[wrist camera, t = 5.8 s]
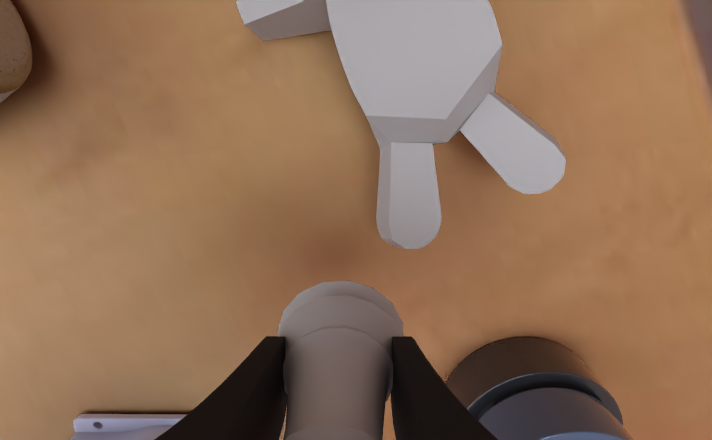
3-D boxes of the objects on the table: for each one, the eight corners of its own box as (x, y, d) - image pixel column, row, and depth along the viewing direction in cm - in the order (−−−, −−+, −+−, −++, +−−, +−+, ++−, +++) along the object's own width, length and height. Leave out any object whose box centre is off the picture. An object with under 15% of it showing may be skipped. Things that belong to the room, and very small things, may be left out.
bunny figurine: (449, -373, 9) (643, 168, 12) (424, -192, 14) (563, 160, 17) (142, -155, 11) (372, 289, 13) (218, -60, 16) (374, 248, 18)
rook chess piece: (276, 372, 14) (180, 691, 6) (284, 266, 13) (176, 509, 5) (392, 385, 14) (433, 710, 7) (412, 281, 13) (492, 540, 5)
